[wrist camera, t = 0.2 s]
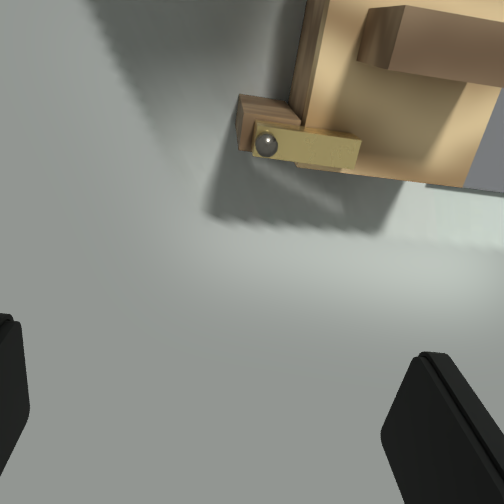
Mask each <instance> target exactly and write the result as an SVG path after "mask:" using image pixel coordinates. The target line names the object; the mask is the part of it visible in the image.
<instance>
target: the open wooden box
mask: <svg viewBox="0 0 504 504" xmlns="http://www.w3.org/2000/svg"><path fill="white" fill-rule="evenodd" d="M324 3H325V0H307V3H306V8H305V14H304V19H303V25H302V30H301V36H300V41H299V46H298V52H297V57H296V63H295V68H294V73H293V79H292V84H291V90H290V95H289V101H288V104H287V103H286V102H285V101H282V100H276V99H269V98H263V97H256V96H250V95H243V94H239V100H238V108H237V115H236V123H235V126H236V134H237V141H238V149H239V150H241V151H249V152H252V151H251V144H252V138H253V131H254V125H255V119H257V120H264V121H270V122H277V123H284V124H291V125H298V126H301V122H302V117H303V112H304V106H305V101H306V96H307V91H308V86H309V81H310V75H311V70H312V65H313V60H314V55H315V50H316V44H317V39H318V34H319V29H320V24H321V19H322V13H323V8H324Z"/></svg>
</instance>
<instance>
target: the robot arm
mask: <svg viewBox="0 0 504 504" xmlns="http://www.w3.org/2000/svg"><path fill="white" fill-rule="evenodd" d="M29 411H30V403H29V394H28V385H27V375H26V366H25V357H24V347H23V338H22V328H21V324H20V322H18V321H14V320H13V317H12V316H11V315H10V314H3V313H0V476H1V474H2V472H3V469H4V467H5V465H6V463H7V461H8V459H9V457H10V455H11V453H12V451H13V449H14V447H15V445H16V443H17V441H18V439H19V437H20V435H21V433H22V431H23V429H24V427H25V425H26V422H27V420H28V417H29ZM381 442H382V446H383V448H384V451H385V453H386V456H387V458H388V461H389V464H390V466H391V469H392V472H393V474H394V477H395V479H396V482H397V484H398V487H399V490H400V492H401V495H402V498H403V500H404V503H405V504H504V434H503V433H502V432H501V430H500V428H499V427H498V426H497V424H496V423H495V421H494V420H493V418H492V417H491V416H490V414H489V413H488V411H487V410H486V408H485V407H484V405H483V404H482V402H481V401H480V400H479V398H478V397H477V395H476V394H475V392H474V391H473V390H472V388H471V387H470V385H469V384H468V382H467V381H466V379H465V378H464V377H463V375H462V374H461V372H460V371H459V369H458V368H457V366H456V365H455V364H454V362H453V361H452V359H451V358H450V357H449V356H448V355H447V354H445V353H436V352H421V353H420V354H419V356H418V357H414V358H413V359H412V361H411V363H410V366H409V368H408V370H407V372H406V374H405V377H404V379H403V381H402V384H401V386H400V388H399V390H398V392H397V395H396V398H395V399H394V402H393V404H392V406H391V409H390V411H389V413H388V415H387V417H386V420H385V422H384V425H383V426H382V430H381Z"/></svg>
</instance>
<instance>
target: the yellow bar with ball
mask: <svg viewBox="0 0 504 504" xmlns="http://www.w3.org/2000/svg"><path fill="white" fill-rule="evenodd" d="M361 142H362V140H360V139H359V138H358V137H357V136H356V135H355V134H353V133H346V132H339V131H332V130H325V129H318V128H312V127H305V126H298V125H291V124H284V123H277V122H270V121H264V120H257V119H255V125H254V131H253V138H252V144H251V151H252V155H253V156H255V157H263V158H270V159H278V160H285V161H292V162H300V163H307V164H315V165H322V166H329V167H337V168H344V169H352V170H354V167H355V164H356V160H357V156H358V153H359V149H360V145H361Z"/></svg>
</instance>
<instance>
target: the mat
mask: <svg viewBox="0 0 504 504" xmlns="http://www.w3.org/2000/svg"><path fill="white" fill-rule="evenodd" d="M463 187H464V188H472V189H479V190H486V191H494V192H501V193H504V88H502V89H501V91H500V94H499V96H498V99H497V101H496V104H495V106H494V109H493V111H492V114H491V116H490V119H489V121H488V124H487V126H486V129H485V132H484V134H483V137H482V139H481V142H480V144H479V147H478V149H477V152H476V154H475V157H474V159H473V162H472V164H471V167H470V169H469V172H468V174H467V177H466V180H465V182H464V185H463Z"/></svg>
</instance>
